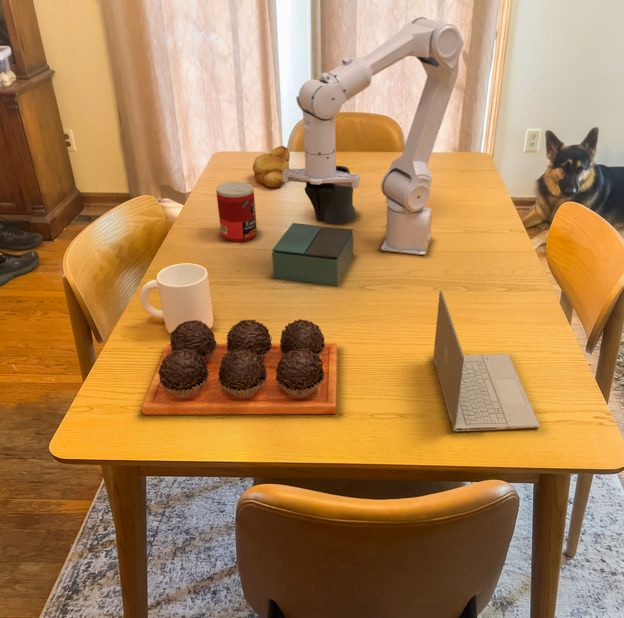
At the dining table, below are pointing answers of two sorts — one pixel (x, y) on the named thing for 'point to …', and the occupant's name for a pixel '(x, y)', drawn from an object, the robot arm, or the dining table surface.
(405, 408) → the dining table surface
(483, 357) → the laptop
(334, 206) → the mug
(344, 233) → the lid
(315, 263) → the storage box
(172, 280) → the mug
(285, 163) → the bread roll
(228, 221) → the canned food
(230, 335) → the truffle serving tray
